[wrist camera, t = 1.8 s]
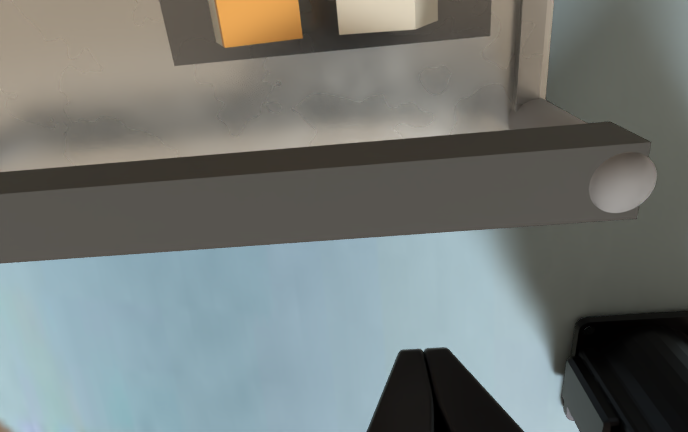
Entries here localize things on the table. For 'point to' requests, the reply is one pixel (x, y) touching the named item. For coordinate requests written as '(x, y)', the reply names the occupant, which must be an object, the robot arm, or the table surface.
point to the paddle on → (384, 15)
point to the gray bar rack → (332, 191)
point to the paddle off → (255, 21)
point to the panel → (252, 79)
